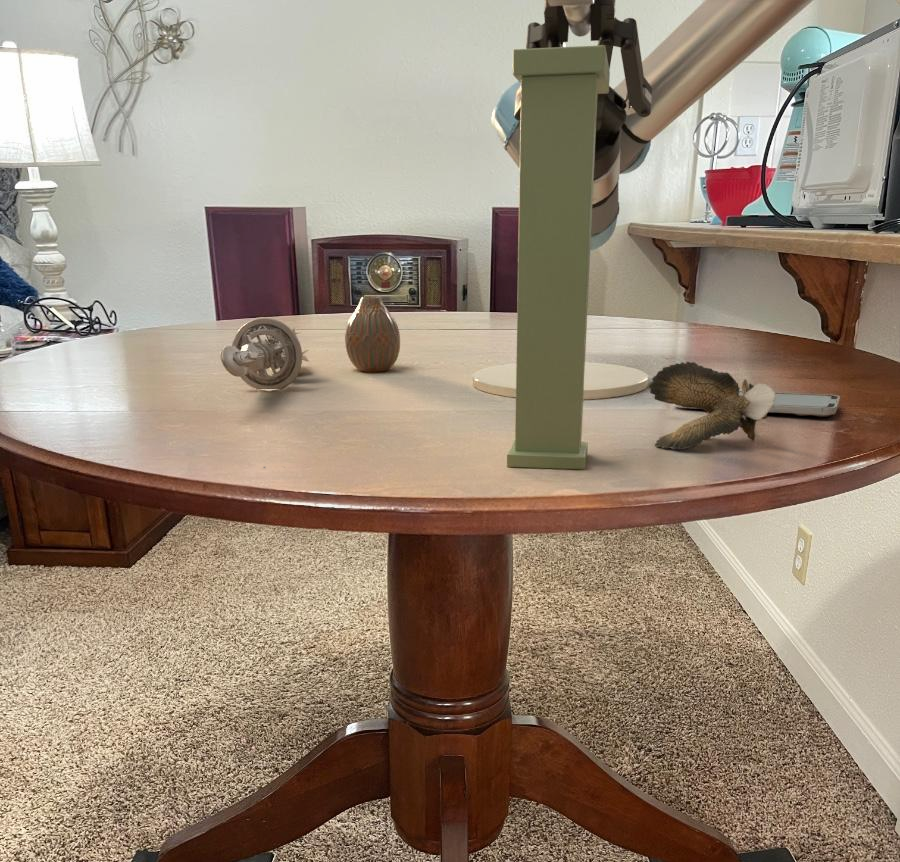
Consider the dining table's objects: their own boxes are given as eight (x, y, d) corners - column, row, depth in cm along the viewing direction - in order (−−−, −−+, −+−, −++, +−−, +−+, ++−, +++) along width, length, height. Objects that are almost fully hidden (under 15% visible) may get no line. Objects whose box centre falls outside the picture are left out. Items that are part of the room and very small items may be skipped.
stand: (524, 431, 80) (531, 74, 69) (591, 433, 79) (609, 71, 68) (506, 466, 69) (512, 47, 58) (584, 469, 68) (605, 43, 57)
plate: (660, 373, 108) (660, 365, 107) (630, 404, 90) (631, 394, 90) (502, 366, 114) (503, 358, 114) (447, 394, 97) (447, 385, 97)
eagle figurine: (722, 413, 80) (634, 401, 78) (766, 352, 75) (672, 336, 72) (748, 476, 76) (656, 465, 74) (797, 416, 71) (699, 402, 68)
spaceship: (167, 338, 81) (244, 303, 80) (254, 332, 115) (309, 307, 114) (207, 419, 84) (282, 386, 82) (281, 390, 117) (336, 366, 116)
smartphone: (687, 388, 94) (840, 395, 88) (686, 397, 94) (839, 404, 88) (672, 400, 88) (835, 408, 82) (671, 410, 88) (834, 419, 82)
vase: (380, 375, 109) (376, 300, 105) (335, 371, 112) (331, 298, 109) (411, 367, 114) (409, 295, 111) (368, 363, 117) (364, 294, 114)
